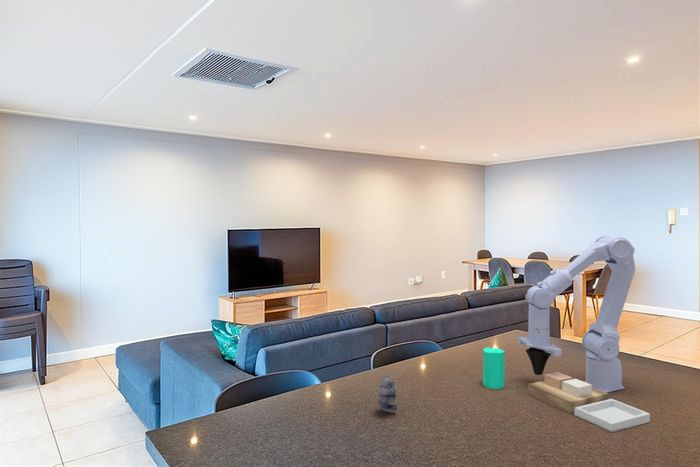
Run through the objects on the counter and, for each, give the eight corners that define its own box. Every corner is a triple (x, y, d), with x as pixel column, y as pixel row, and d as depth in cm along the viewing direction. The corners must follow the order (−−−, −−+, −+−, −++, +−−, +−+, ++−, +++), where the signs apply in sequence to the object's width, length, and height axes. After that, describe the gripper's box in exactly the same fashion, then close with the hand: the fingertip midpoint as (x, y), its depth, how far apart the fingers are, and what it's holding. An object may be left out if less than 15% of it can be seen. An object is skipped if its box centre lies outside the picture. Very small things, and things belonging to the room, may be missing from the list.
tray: (611, 406, 119) (611, 398, 119) (649, 421, 110) (650, 413, 109) (574, 415, 113) (574, 407, 113) (611, 432, 104) (611, 424, 104)
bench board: (564, 386, 132) (564, 376, 132) (608, 404, 120) (608, 393, 120) (528, 394, 127) (528, 383, 127) (570, 413, 114) (570, 402, 114)
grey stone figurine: (399, 410, 117) (399, 371, 116) (394, 418, 112) (394, 379, 111) (379, 407, 118) (379, 369, 118) (374, 415, 113) (373, 376, 113)
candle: (505, 389, 130) (505, 348, 130) (484, 388, 132) (484, 347, 131) (502, 382, 136) (503, 342, 136) (482, 380, 137) (482, 341, 137)
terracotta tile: (557, 380, 129) (557, 371, 129) (572, 386, 125) (572, 377, 125) (544, 383, 127) (544, 374, 127) (559, 389, 123) (559, 380, 123)
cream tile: (575, 387, 124) (575, 378, 124) (591, 394, 119) (591, 384, 119) (562, 390, 122) (562, 381, 122) (578, 397, 117) (578, 387, 117)
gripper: (510, 324, 137) (509, 368, 137) (548, 335, 124) (548, 384, 124) (527, 321, 140) (527, 365, 140) (567, 332, 127) (566, 380, 127)
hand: (538, 374), depth 132 cm, fingers closed
